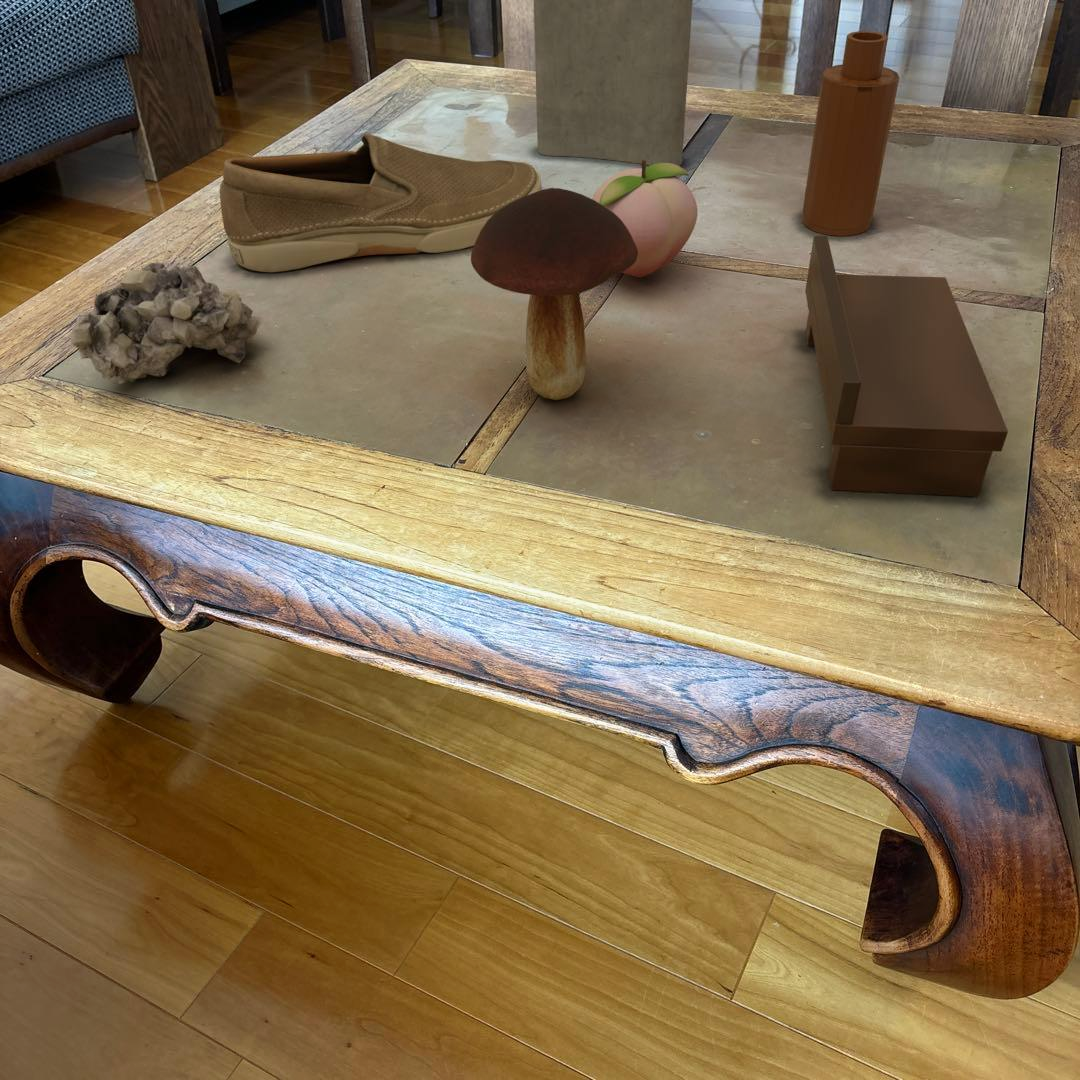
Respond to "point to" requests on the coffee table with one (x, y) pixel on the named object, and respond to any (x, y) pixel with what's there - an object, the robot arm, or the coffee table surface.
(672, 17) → the grey upright slab
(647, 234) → the decorative fruit
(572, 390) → the decorative mushroom
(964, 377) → the walnut bench
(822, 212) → the bottle
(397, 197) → the slip on shoe
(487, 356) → the coffee table surface
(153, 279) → the mineral specimen
